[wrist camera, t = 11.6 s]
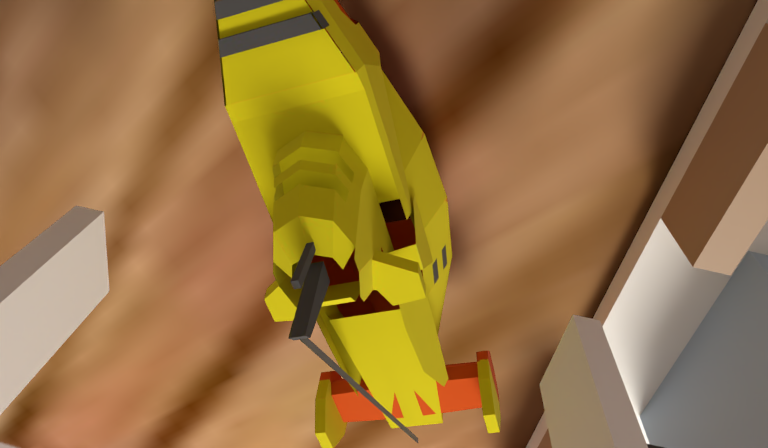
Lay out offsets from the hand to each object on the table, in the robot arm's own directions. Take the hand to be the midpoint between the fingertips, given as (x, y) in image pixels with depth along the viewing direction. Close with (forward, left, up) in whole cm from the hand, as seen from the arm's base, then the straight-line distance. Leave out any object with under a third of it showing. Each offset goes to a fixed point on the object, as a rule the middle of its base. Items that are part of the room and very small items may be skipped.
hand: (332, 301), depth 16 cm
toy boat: (0, 0, -7) cm, 7 cm away
